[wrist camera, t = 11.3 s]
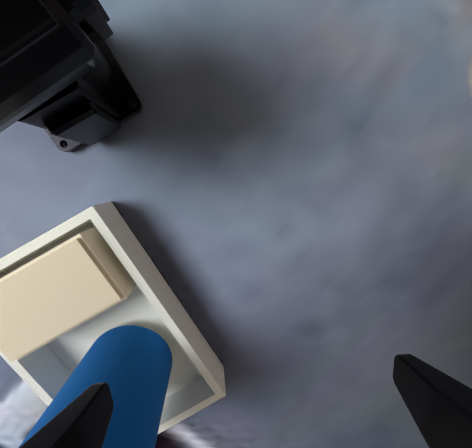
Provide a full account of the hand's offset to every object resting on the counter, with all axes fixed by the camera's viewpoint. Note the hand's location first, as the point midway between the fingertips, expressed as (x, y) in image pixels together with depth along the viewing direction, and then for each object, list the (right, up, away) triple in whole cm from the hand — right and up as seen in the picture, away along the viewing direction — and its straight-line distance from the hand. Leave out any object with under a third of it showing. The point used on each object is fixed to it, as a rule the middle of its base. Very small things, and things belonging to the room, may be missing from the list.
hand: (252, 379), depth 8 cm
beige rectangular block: (-13, +1, +11) cm, 17 cm away
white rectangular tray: (-11, -3, +13) cm, 17 cm away
